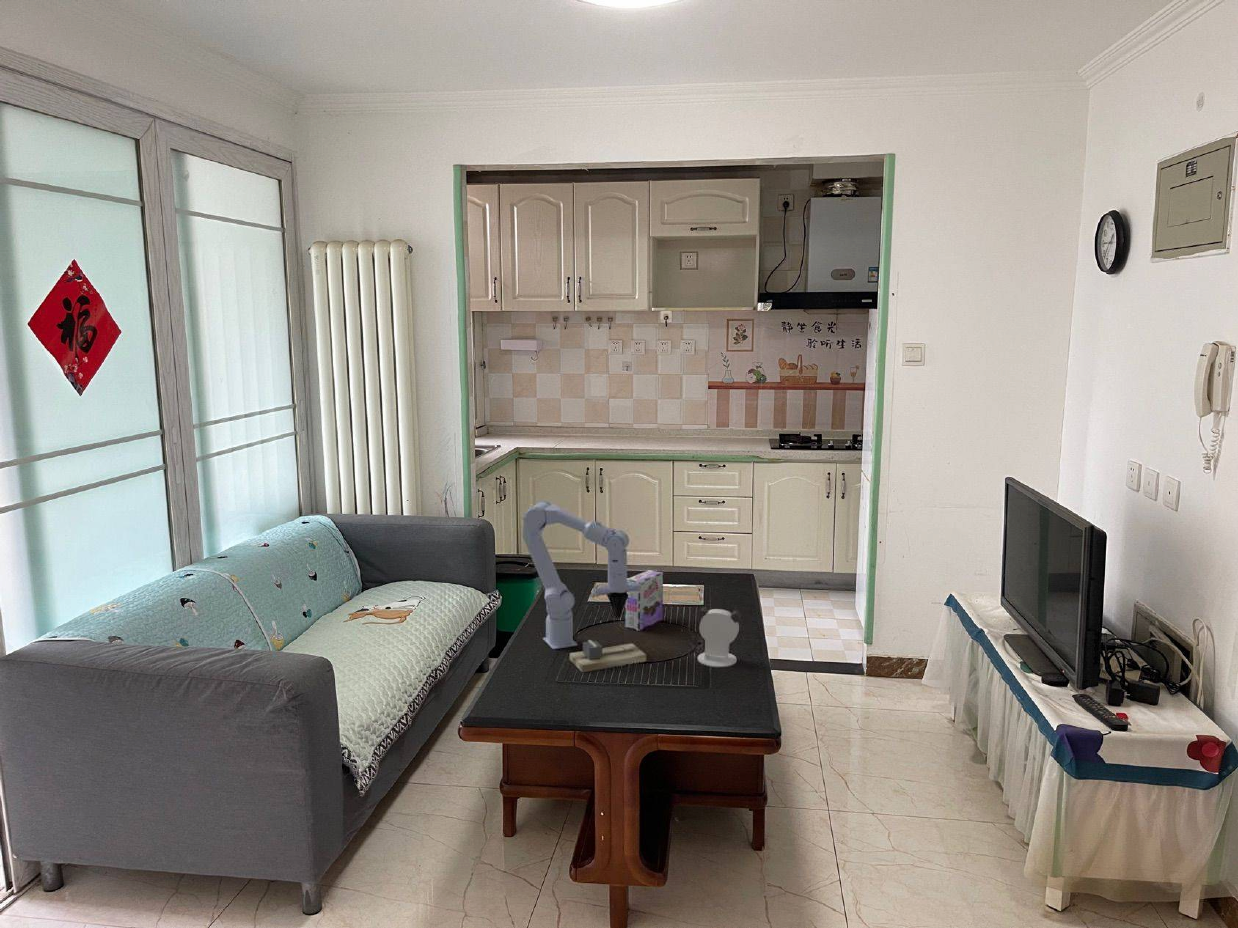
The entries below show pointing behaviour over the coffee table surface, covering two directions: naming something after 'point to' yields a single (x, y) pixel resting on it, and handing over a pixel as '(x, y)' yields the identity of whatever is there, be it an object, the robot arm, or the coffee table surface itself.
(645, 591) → the candy box
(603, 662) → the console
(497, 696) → the coffee table surface
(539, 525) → the robot arm
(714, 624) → the panda figurine
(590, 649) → the fader tab
